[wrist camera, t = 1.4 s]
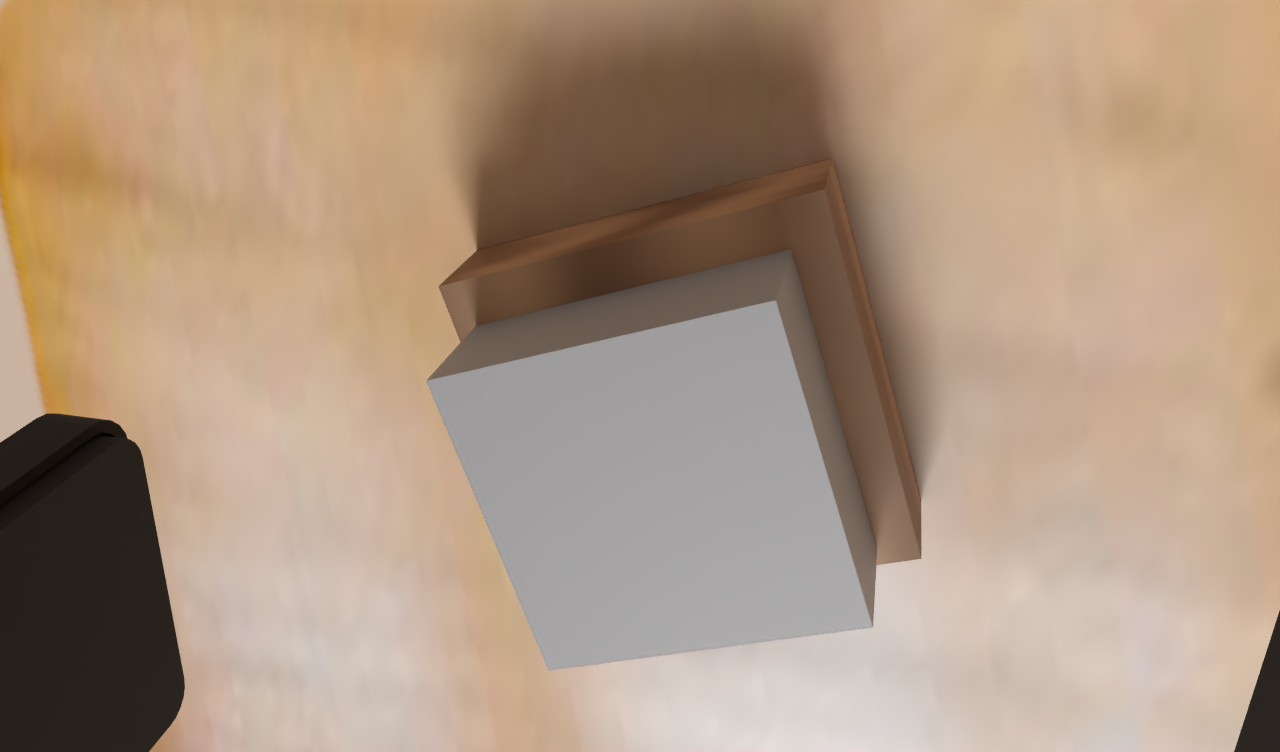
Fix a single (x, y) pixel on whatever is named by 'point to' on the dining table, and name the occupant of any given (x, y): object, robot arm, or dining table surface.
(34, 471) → the robot arm
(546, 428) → the tower top
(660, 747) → the dining table surface
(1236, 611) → the dining table surface
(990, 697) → the dining table surface
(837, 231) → the tower base
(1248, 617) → the dining table surface
